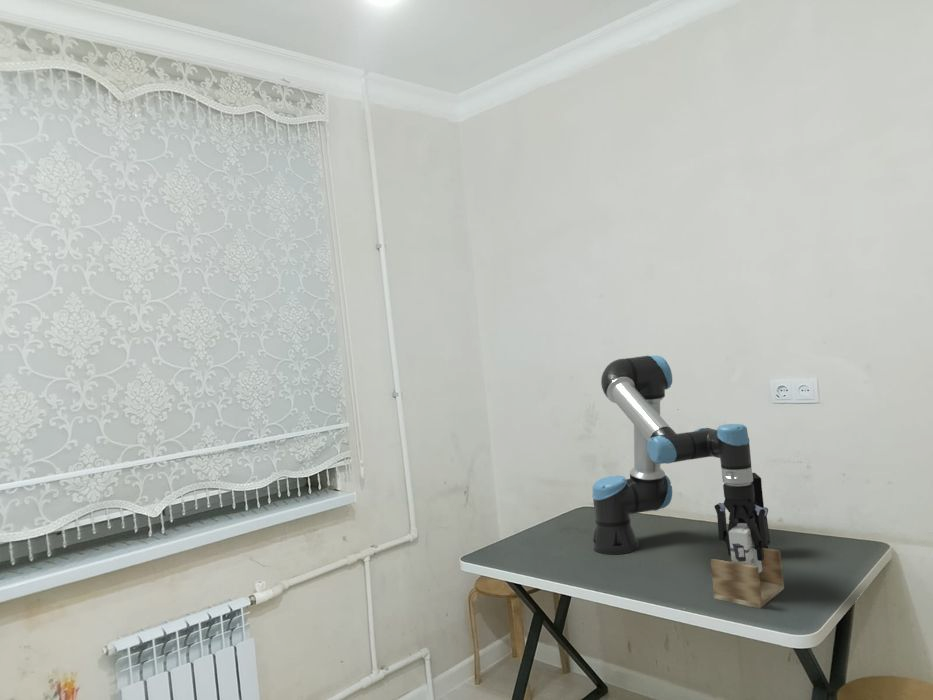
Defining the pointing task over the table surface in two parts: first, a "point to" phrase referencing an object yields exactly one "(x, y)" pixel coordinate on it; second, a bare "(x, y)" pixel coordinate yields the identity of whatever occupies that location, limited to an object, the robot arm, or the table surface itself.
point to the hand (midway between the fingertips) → (747, 569)
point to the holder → (748, 580)
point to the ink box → (741, 544)
